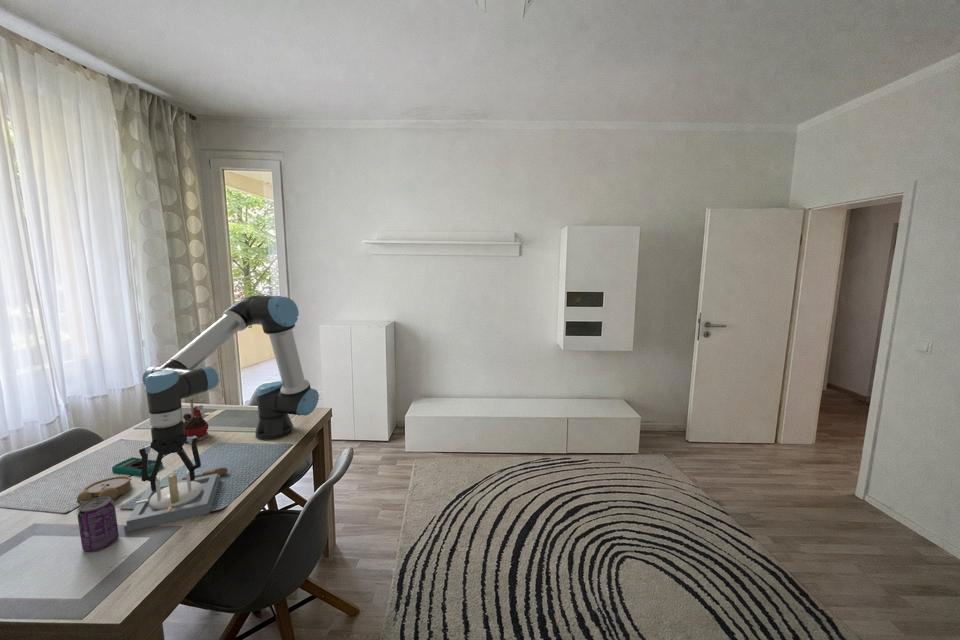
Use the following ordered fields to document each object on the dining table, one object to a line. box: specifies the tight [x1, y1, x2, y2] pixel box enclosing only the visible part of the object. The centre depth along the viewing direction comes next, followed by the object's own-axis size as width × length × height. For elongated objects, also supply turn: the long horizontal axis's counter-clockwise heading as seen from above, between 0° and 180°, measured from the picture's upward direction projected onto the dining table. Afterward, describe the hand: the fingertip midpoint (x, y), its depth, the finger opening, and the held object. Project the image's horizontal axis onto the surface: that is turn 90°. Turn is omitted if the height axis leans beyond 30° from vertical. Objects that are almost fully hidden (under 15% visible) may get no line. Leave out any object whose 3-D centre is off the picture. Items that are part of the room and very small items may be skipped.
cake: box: [183, 398, 209, 443], centre depth 165 cm, size 11×9×18 cm
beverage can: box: [77, 497, 120, 552], centre depth 103 cm, size 7×7×12 cm
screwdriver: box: [181, 466, 228, 480], centre depth 136 cm, size 13×3×3 cm, turn 116°
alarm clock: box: [76, 475, 132, 506], centre depth 125 cm, size 11×5×15 cm
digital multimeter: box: [111, 457, 164, 477], centre depth 141 cm, size 7×15×3 cm, turn 79°
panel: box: [123, 473, 221, 533], centre depth 122 cm, size 20×20×3 cm
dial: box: [150, 473, 202, 510], centre depth 121 cm, size 13×13×10 cm
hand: (175, 494), depth 117 cm, fingers open, 7 cm apart
